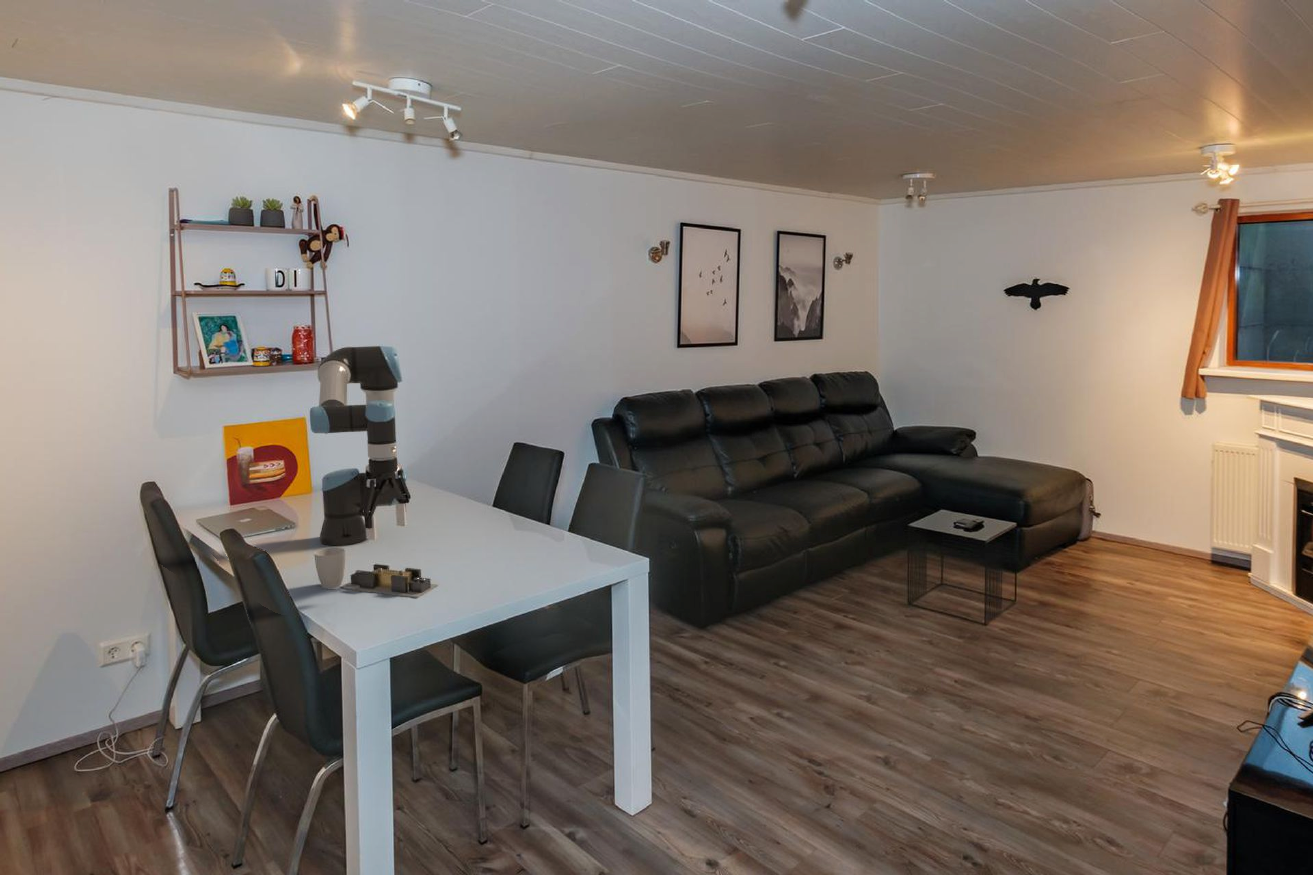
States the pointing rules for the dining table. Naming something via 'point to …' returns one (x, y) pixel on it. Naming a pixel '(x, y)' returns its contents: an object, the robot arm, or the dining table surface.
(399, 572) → the gold rectangular block
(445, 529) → the dining table surface
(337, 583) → the cup
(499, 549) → the dining table surface
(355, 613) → the dining table surface
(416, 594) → the mat
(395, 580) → the grey assembly fixture
